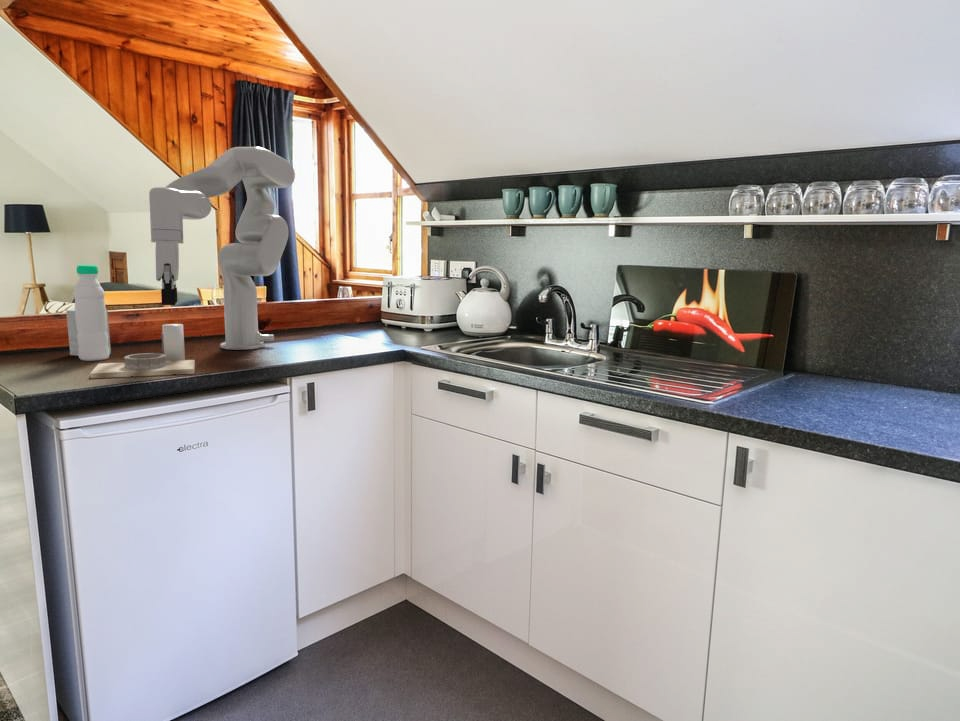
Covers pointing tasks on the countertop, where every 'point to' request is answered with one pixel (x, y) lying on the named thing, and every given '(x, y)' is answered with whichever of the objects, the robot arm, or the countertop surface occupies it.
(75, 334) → the supplement box
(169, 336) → the white round post
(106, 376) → the board
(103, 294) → the milk bottle
